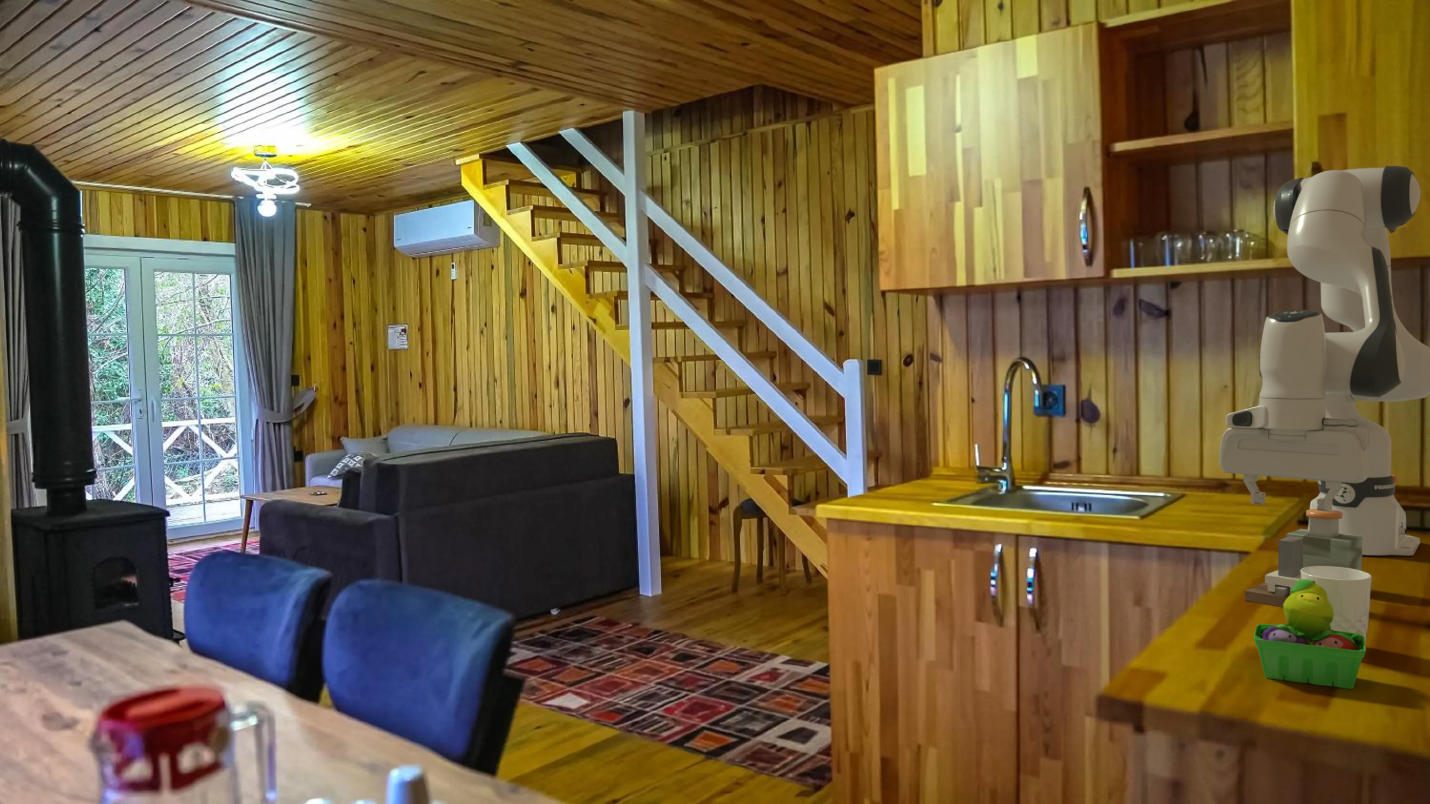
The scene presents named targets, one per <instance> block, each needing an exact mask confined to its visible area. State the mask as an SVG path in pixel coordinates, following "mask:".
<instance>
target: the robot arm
mask: <svg viewBox="0 0 1430 804" xmlns="http://www.w3.org/2000/svg"><path fill="white" fill-rule="evenodd" d="M1420 200H1421V188H1420V184H1419V182H1418V180H1417V178H1416V177H1415V173H1414V172H1413V170H1411V169H1410V168H1409V167H1407V166H1402V165H1401V166H1400V165H1385V167H1361V168H1352V169H1351V168H1350V169H1343V170H1339V169H1332V170H1331V169H1329V170H1326V171H1321V172H1319V173H1317V174H1314V175H1313V176H1311V177H1306V178H1304V177H1299V178H1294V179H1291V180H1288V181H1287V182H1284V183H1283V184H1282V185H1281V187H1279V188H1278V189H1277V191H1276V195H1275V198H1274V202H1273V205H1272V206H1273V207H1272V208H1273V210H1272V212H1273V218H1274V220H1275V222H1276V226H1277V227H1278V229H1279V231H1281V232H1282V233H1284V234H1285V235H1287V237H1286V238H1287V240H1286V249H1287V250H1286V252H1287V254H1286V255H1287V258H1288V260H1289V262H1290V263H1291V265H1292V266H1293V267H1294V269H1295V270H1296V271H1298V273H1300V274H1302V275H1303V276H1304V277H1307V278H1308V279H1310V280H1313V281H1315V282H1319V283H1320V306H1321V310H1322V312H1323V314H1325V316H1327V318H1329V319H1330V320H1332V321H1334V322H1336V323H1339V324H1340V325H1344V326H1347V327H1348V328H1350V330H1352V331H1348V332H1347V331H1346V332H1345V331H1343V332H1341V331H1340V332H1337V331H1336V332H1326V329H1325V322H1324V317H1323V315H1322V313H1320V312H1318V311H1316V310H1313V309H1312V310H1311V309H1310V310H1309V309H1290V310H1284V311H1283V310H1281V311H1276V312H1273V313H1271V314H1269V315H1268V316H1266V317H1265V321H1264V325H1263V331H1262V334H1261V335H1262V337H1261V343H1260V345H1261V346H1260V351H1259V356H1258V357H1259V359H1258V361H1259V363H1258V365H1259V366H1258V367H1259V368H1258V369H1259V371H1258V372H1259V377H1260V378H1261V379H1262V383H1261V389H1260V392H1259V397H1258V398H1259V401H1258V405H1257V406H1256V405H1255V406H1250V407H1247V408H1245V409H1240V410H1237V411H1233V412H1230V413H1228V414H1226V416H1225V425H1226V427H1229V428H1227V429H1226V430H1225V431H1224V432H1223V434H1222V437H1221V440H1220V446H1219V457H1218V458H1219V459H1218V461H1219V468H1221V470H1222V471H1223V473H1227V474H1237V475H1239V474H1240V475H1243V479H1242V481H1243V483H1244V485H1245V487H1246V488H1247V490H1248V491H1249V493H1250V503H1251V504H1252V505H1261V506H1262V505H1265V504H1266V499H1265V498H1266V492H1263V491H1261V490H1260V488H1259V487H1258V485H1257V483H1256V482H1257V481H1259V476H1261V477H1273V478H1287V479H1299V480H1309V481H1311V480H1312V481H1317V484H1318V491H1319V494H1318V496H1316V497H1315V498H1313V499H1312V500H1311V501H1310V503H1309V504H1310V506H1309V509H1317V510H1318V511H1327V512H1329V511H1332V510H1336V511H1340V512H1342V518H1341V519H1339V533H1340V534H1348V535H1357V536H1362V556H1414V554H1415V553H1416V551H1417V549H1418V547H1419V545H1420V544H1421V539H1420V537H1417V536H1413V535H1408V534H1407V516H1406V511H1405V510H1404V509H1403V507H1402V506H1401V505H1400V503H1399V502H1398V501H1397V499H1396V497H1395V494H1396V485H1397V481H1398V477H1397V475H1396V474H1392V438H1391V435H1390V433H1389V432H1388V431H1387V430H1386V429H1385V427H1383V426H1382V425H1380V424H1378V423H1377V422H1375V421H1374V420H1373V421H1372V420H1371V419H1368V418H1365V417H1364V416H1363V415H1361V413H1360V412H1359V410H1358V408H1357V406H1356V402H1358V401H1359V402H1389V403H1390V402H1391V403H1392V402H1395V403H1399V402H1405V401H1413V400H1420V399H1424V398H1427V397H1428V396H1430V347H1429V346H1427V345H1426V344H1424V343H1423V342H1421V341H1419V340H1418V339H1417V338H1416V337H1414V336H1413V335H1412V334H1411V333H1410V332H1409V331H1408V330H1407V329H1406V327H1405V326H1404V325H1403V323H1402V322H1401V320H1400V318H1399V316H1398V314H1397V311H1396V309H1395V304H1394V297H1393V296H1394V295H1393V287H1392V266H1391V265H1392V263H1391V262H1392V261H1391V260H1392V259H1391V257H1392V256H1391V249H1390V241H1389V234H1388V231H1389V233H1390V234H1393V233H1395V232H1396V231H1397V228H1399V227H1401V226H1405V224H1407V223H1408V222H1409V221H1410V220H1411V219H1413V217H1414V216H1415V214H1416V210H1417V208H1418V206H1419V204H1420ZM1307 530H1309V526H1308V529H1307Z"/></svg>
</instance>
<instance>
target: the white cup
mask: <svg viewBox="0 0 1430 804" xmlns="http://www.w3.org/2000/svg"><path fill="white" fill-rule="evenodd" d="M1300 571H1301V579H1309V580H1314V581H1315V583H1316V584H1318V585H1320V586H1321V587H1322V588H1323V589H1324V590H1325V591H1326V593H1327V597H1328V601H1329V602H1330V604H1331V606H1332V608H1333V612H1334V617H1333V620H1332V622H1331V623H1330V627H1331V630H1334V631H1342V632H1350V633H1358V634H1361V635H1364V636H1365V643H1366V640H1367V637H1366V636H1367V632H1368V629H1369V627H1368V625H1369V620H1370V619H1369V618H1370V606H1371V605H1370V604H1371V603H1370V602H1371V592H1372V591H1371V589H1372V587H1371V586H1372V575H1371V574H1370V573H1369V572H1366V571H1363V570H1362V571H1360V570H1356V569H1350V568H1343V567H1333V566H1311V567H1305V568H1302V569H1301V570H1300Z"/></svg>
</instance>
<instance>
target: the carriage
mask: <svg viewBox="0 0 1430 804" xmlns="http://www.w3.org/2000/svg"><path fill="white" fill-rule="evenodd" d="M1277 551H1278V556H1277V557H1278V559H1277V560H1278V565H1277V568H1278V569H1277V570H1275V571H1271V572H1269V573H1266V574H1265V575H1264V583H1268V591H1271V592H1275V588H1277V587H1279V586H1281V585H1282V586H1288V587H1290V591H1291V590H1292V589H1293V587H1294V584H1295V583H1296V582H1297V581H1298V580H1300V579H1301V571H1300V570H1301V569H1302V568H1303V538H1298V537H1290V536H1289V537H1286V536H1285V537H1283V538H1281V539H1278V550H1277ZM1290 595H1291V592H1290Z"/></svg>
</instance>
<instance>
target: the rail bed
mask: <svg viewBox="0 0 1430 804" xmlns="http://www.w3.org/2000/svg"><path fill="white" fill-rule="evenodd" d="M1289 536H1290V537H1298V538H1303V568H1305V567H1311V566H1333V567H1343V568H1350V569H1356V570H1360V571H1363V568H1362V567H1363V555H1362V536H1357V535H1348V534H1340V533H1339V536H1338V537H1335V538H1325V537H1317V536H1309V530H1308V529H1307V528H1306V529H1303V528H1299V529H1297V530H1294V531H1291V532H1288V533H1285V538H1286V537H1289ZM1289 596H1290V587H1288V586H1282V585H1281V586H1279V587H1277V588H1275V592H1271V591H1268V583H1265V582H1264V583H1261V584H1258V585H1256V586H1254V587H1250V588H1249V589H1246V590H1244V600H1245V601H1247V602H1251V603H1252V602H1254V603H1260V604H1263V605H1270V606H1277V607H1283V604H1284V602H1285V600H1286V599H1287V598H1288V597H1289Z"/></svg>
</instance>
